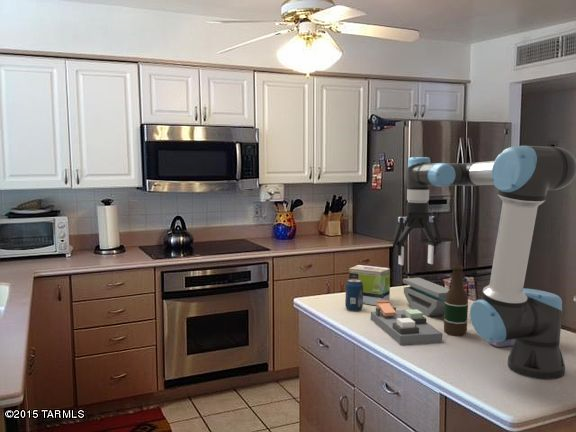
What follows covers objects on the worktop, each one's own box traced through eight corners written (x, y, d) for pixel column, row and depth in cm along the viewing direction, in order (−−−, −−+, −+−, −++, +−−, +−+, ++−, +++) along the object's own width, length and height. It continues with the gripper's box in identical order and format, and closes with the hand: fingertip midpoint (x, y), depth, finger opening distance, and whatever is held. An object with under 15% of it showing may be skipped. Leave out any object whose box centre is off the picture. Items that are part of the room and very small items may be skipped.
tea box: (390, 301, 227) (391, 267, 225) (381, 307, 219) (381, 271, 217) (357, 296, 235) (358, 263, 233) (347, 301, 226) (348, 267, 225)
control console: (442, 342, 177) (443, 325, 177) (400, 344, 174) (400, 327, 174) (407, 317, 205) (408, 302, 204) (370, 319, 202) (370, 304, 201)
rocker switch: (395, 315, 194) (396, 311, 193) (384, 316, 193) (384, 311, 192) (386, 304, 202) (387, 299, 201) (375, 304, 201) (376, 300, 200)
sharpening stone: (401, 304, 223) (402, 278, 222) (418, 302, 226) (418, 277, 224) (437, 321, 200) (438, 293, 198) (455, 319, 202) (456, 291, 201)
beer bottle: (468, 337, 182) (471, 268, 180) (444, 335, 184) (447, 267, 181) (465, 330, 190) (468, 264, 187) (442, 328, 191) (445, 263, 189)
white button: (414, 327, 178) (415, 321, 178) (402, 328, 177) (402, 322, 177) (409, 323, 182) (409, 317, 182) (396, 324, 181) (396, 318, 181)
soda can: (346, 306, 219) (347, 277, 218) (363, 307, 217) (364, 279, 216) (343, 311, 213) (344, 281, 211) (361, 312, 211) (361, 282, 209)
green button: (422, 318, 188) (422, 313, 188) (410, 319, 187) (410, 313, 187) (416, 314, 192) (417, 309, 192) (405, 315, 192) (405, 310, 191)
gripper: (443, 200, 191) (440, 261, 194) (382, 201, 187) (381, 263, 189) (453, 202, 184) (450, 265, 186) (390, 202, 179) (389, 267, 182)
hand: (415, 264), depth 188 cm, fingers open, 10 cm apart
